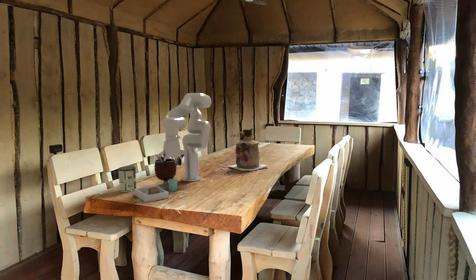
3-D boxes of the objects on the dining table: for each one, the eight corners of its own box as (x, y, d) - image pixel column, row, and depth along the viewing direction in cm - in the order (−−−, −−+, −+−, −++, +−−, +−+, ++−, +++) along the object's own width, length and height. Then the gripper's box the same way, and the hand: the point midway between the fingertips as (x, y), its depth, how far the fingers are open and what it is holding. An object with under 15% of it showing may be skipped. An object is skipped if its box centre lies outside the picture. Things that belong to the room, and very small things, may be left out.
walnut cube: (148, 196, 213) (148, 188, 212) (156, 195, 216) (156, 186, 215) (151, 198, 209) (151, 190, 208) (159, 197, 212) (159, 188, 211)
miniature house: (128, 186, 237) (127, 165, 235) (140, 189, 232) (139, 167, 230) (115, 190, 228) (114, 168, 226) (127, 192, 223) (126, 170, 221)
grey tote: (134, 194, 219) (134, 188, 219) (157, 191, 227) (156, 185, 227) (145, 202, 204) (144, 196, 204) (168, 198, 212) (168, 192, 212)
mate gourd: (181, 185, 241) (180, 155, 238) (165, 190, 229) (165, 158, 227) (164, 182, 249) (163, 152, 247) (148, 186, 238) (147, 156, 235)
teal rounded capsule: (167, 190, 229) (167, 179, 228) (175, 188, 232) (175, 178, 231) (171, 191, 225) (170, 180, 224) (178, 190, 228) (178, 179, 227)
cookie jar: (248, 163, 313) (249, 126, 308) (269, 168, 294) (269, 128, 290) (226, 167, 297) (225, 127, 293) (246, 172, 278) (246, 130, 274)
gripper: (182, 137, 232) (182, 163, 234) (156, 138, 223) (156, 166, 225) (187, 138, 226) (187, 165, 228) (160, 140, 216) (161, 168, 218)
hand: (172, 166), depth 226 cm, fingers open, 9 cm apart
